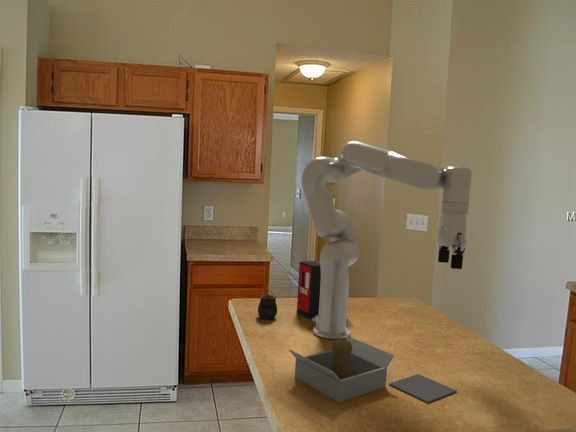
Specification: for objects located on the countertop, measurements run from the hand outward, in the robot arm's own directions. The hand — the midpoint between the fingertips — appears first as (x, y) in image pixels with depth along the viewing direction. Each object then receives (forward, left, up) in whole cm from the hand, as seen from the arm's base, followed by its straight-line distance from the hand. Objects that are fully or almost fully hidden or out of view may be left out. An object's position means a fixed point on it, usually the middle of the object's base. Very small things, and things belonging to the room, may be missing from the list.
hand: (449, 265), depth 146 cm
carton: (-3, -40, -28) cm, 49 cm away
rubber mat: (+11, -24, -28) cm, 39 cm away
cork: (-3, -40, -29) cm, 49 cm away
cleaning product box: (-53, -2, -29) cm, 61 cm away
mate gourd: (-58, -24, -29) cm, 69 cm away
